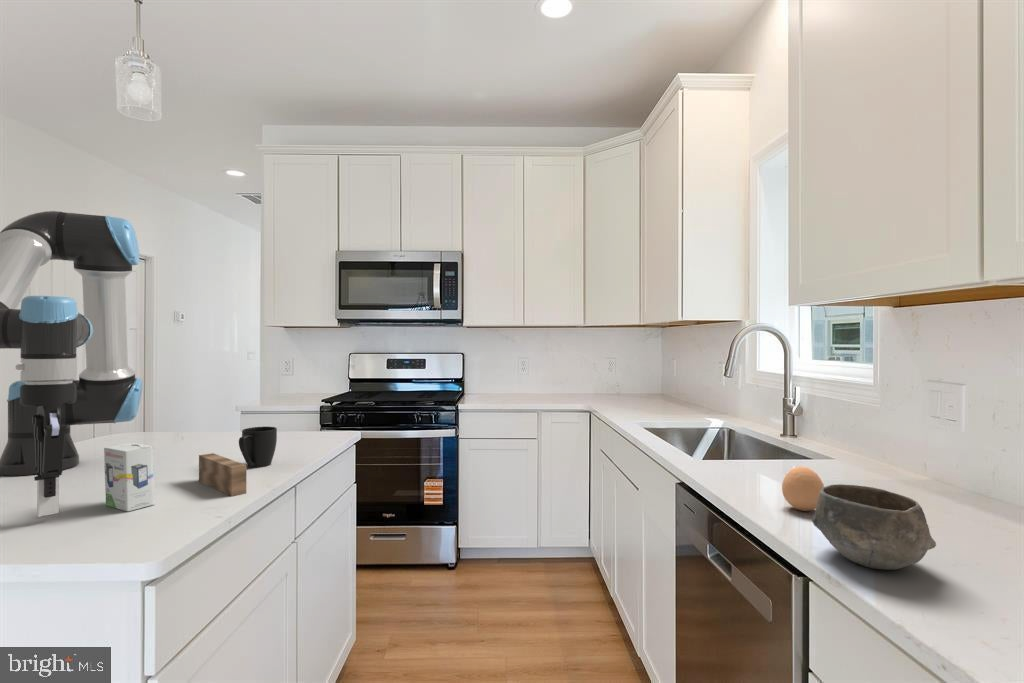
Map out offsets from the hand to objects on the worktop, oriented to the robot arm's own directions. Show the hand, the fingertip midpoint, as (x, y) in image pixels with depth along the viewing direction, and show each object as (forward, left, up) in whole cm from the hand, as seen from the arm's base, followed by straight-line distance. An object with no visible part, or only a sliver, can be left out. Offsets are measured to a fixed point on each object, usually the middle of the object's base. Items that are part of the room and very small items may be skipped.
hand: (48, 513), depth 91 cm
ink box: (0, +12, -2) cm, 12 cm away
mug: (-13, +42, -2) cm, 44 cm away
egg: (+103, +96, -2) cm, 141 cm away
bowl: (+115, +76, -2) cm, 138 cm away
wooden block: (0, +29, -1) cm, 29 cm away
